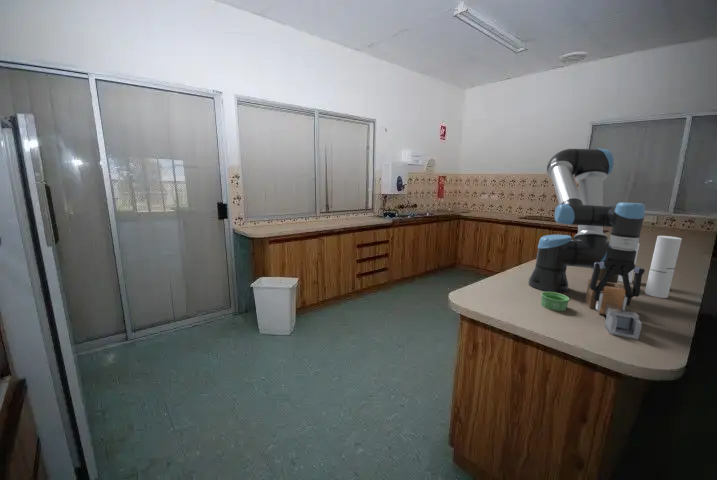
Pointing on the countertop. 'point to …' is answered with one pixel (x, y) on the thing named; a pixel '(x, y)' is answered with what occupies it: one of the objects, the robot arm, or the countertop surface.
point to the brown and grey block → (614, 304)
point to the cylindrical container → (663, 266)
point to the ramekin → (554, 301)
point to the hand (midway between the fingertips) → (609, 311)
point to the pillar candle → (602, 271)
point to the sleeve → (630, 332)
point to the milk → (632, 270)
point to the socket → (591, 293)
